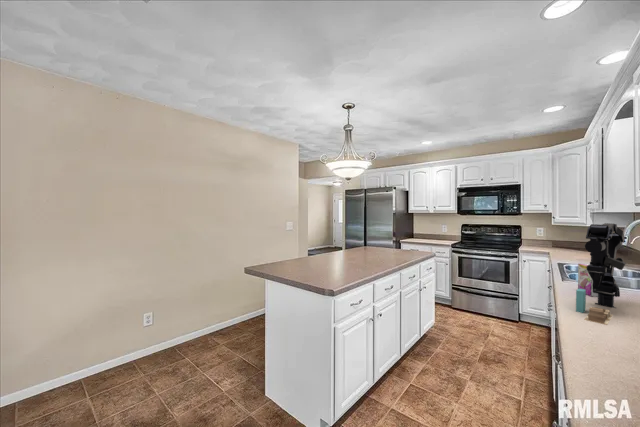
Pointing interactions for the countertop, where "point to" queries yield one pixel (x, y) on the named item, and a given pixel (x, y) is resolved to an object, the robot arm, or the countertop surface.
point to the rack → (606, 312)
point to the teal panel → (580, 300)
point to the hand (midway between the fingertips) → (598, 284)
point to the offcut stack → (596, 315)
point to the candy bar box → (585, 280)
